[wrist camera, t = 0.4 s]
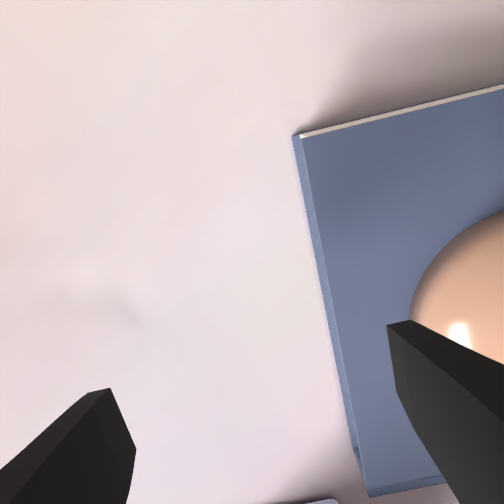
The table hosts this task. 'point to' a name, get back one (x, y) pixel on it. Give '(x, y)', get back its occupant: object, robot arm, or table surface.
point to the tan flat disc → (467, 289)
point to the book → (393, 248)
